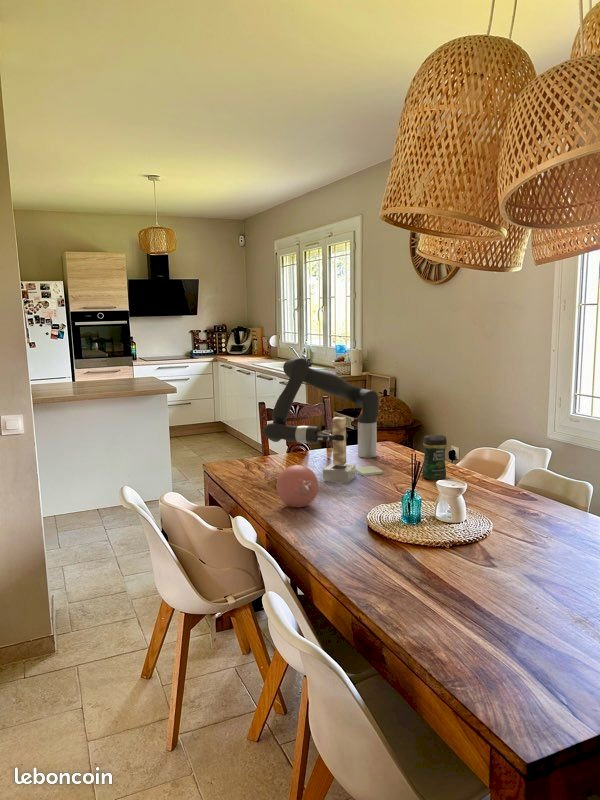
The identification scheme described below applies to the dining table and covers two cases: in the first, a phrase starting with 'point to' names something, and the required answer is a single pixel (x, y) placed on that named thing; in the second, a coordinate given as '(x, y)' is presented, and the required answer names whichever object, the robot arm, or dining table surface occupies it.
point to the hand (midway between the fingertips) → (345, 436)
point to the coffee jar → (434, 457)
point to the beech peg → (339, 446)
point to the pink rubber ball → (297, 486)
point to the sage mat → (369, 470)
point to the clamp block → (339, 473)
